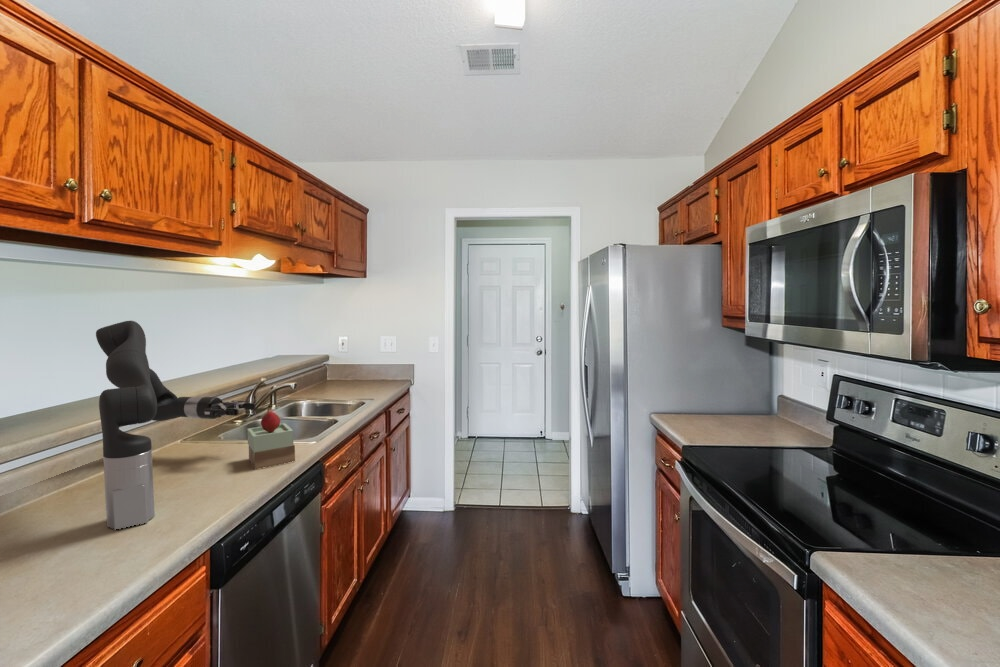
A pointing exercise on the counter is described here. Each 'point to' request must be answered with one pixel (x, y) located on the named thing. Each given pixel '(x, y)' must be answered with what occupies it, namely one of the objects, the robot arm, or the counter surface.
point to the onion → (270, 421)
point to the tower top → (270, 438)
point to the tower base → (272, 456)
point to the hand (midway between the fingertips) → (246, 409)
